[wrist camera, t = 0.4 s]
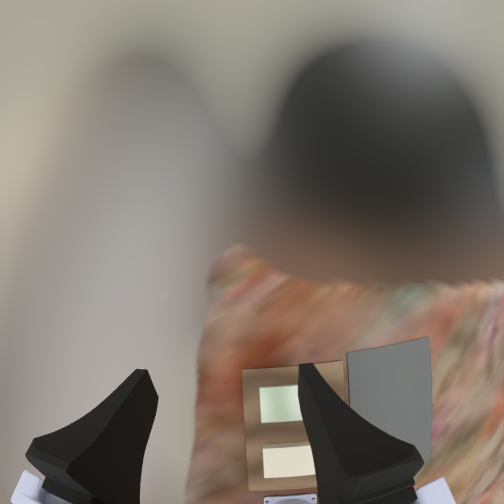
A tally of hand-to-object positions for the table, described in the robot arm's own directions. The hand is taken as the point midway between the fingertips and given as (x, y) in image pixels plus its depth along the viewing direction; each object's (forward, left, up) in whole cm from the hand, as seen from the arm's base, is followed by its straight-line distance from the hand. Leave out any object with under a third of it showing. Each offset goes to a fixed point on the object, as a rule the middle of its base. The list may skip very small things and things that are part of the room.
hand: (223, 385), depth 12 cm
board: (-11, -4, -27) cm, 29 cm away
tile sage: (-6, -3, -26) cm, 26 cm away
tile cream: (-15, -3, -26) cm, 30 cm away
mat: (-11, -19, -27) cm, 35 cm away
